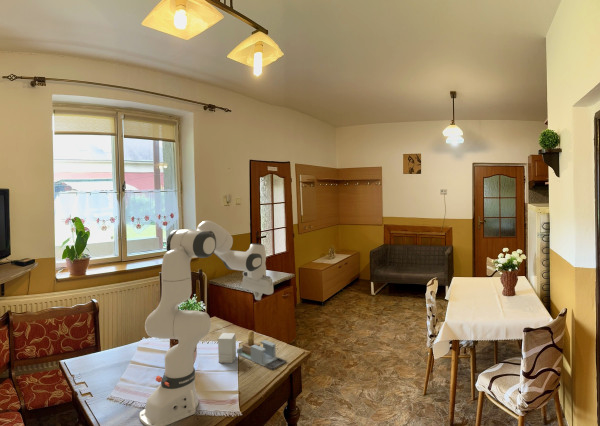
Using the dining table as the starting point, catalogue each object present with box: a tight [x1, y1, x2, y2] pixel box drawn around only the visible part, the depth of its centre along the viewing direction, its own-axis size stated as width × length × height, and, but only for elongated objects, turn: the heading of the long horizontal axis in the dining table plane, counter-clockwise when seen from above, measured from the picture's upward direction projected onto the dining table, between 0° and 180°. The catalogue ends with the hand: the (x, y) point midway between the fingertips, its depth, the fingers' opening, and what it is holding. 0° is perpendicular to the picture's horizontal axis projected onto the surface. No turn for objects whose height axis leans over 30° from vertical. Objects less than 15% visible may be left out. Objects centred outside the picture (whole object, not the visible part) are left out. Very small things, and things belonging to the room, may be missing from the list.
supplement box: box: [217, 332, 237, 364], centre depth 183 cm, size 7×7×13 cm
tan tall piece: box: [241, 330, 261, 356], centre depth 189 cm, size 6×7×11 cm
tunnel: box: [236, 339, 287, 371], centre depth 185 cm, size 10×26×7 cm, turn 50°
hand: (258, 299), depth 189 cm, fingers closed
